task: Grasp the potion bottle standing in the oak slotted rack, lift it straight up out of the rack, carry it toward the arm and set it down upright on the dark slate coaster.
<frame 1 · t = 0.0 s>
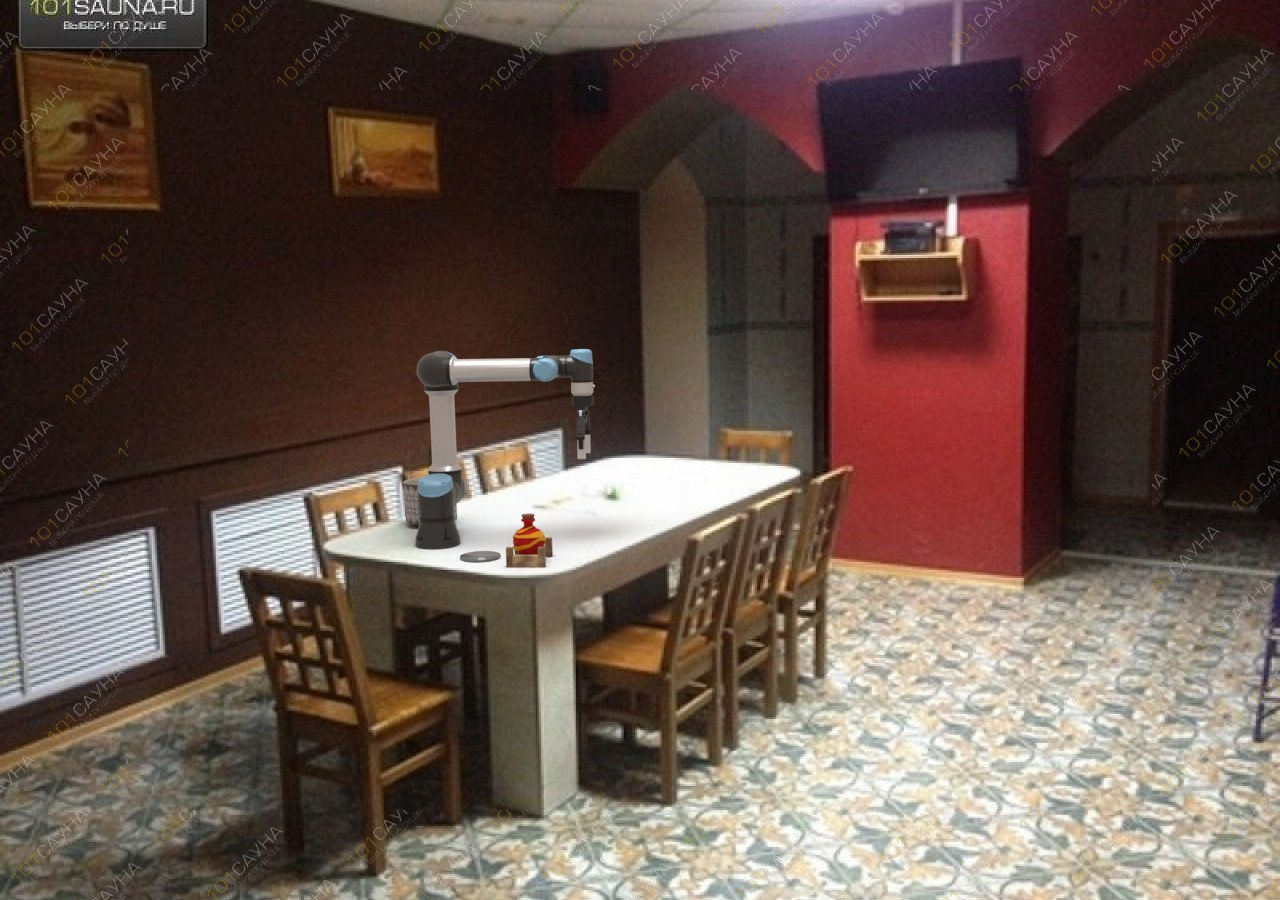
hand: (584, 456, 402), 28 cm above the table, fingers open, 13 cm apart
coaster: (480, 557, 376), on the table
potion bottle: (530, 561, 369), on the table
planter: (431, 525, 431), on the table
rack: (530, 561, 369), on the table
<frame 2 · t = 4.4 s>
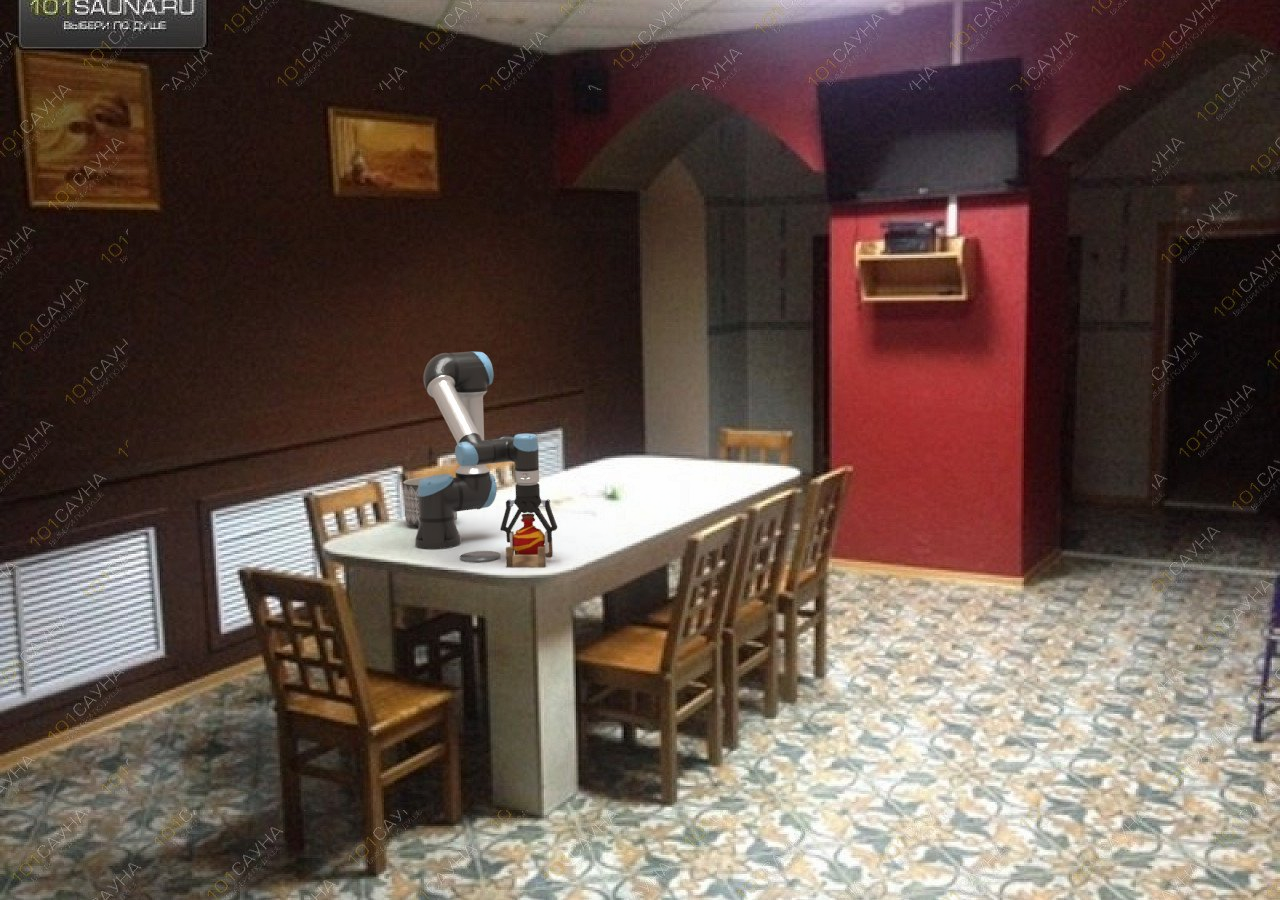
hand: (529, 552, 369), 3 cm above the table, fingers closed on potion bottle, 10 cm apart
potion bottle: (530, 561, 369), on the table, touching gripper
everything else where it was.
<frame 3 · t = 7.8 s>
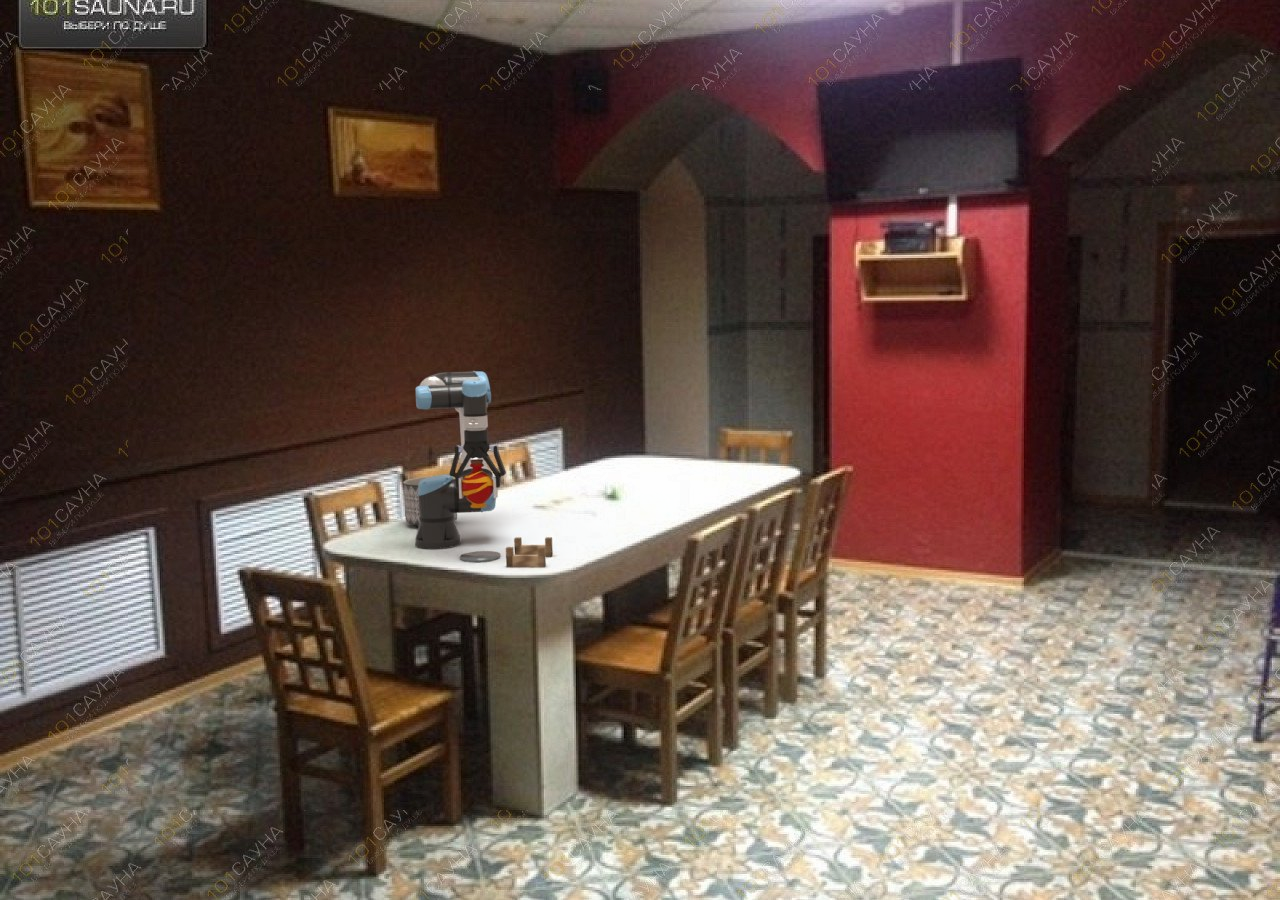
hand: (478, 497, 373), 20 cm above the table, fingers closed on potion bottle, 10 cm apart
potion bottle: (479, 507, 373), point 17 cm above the table, touching gripper
everything else where it was.
when the fingers open (5 cm above the table, at t = 11.5 s): potion bottle drops 1 cm, resting on coaster.
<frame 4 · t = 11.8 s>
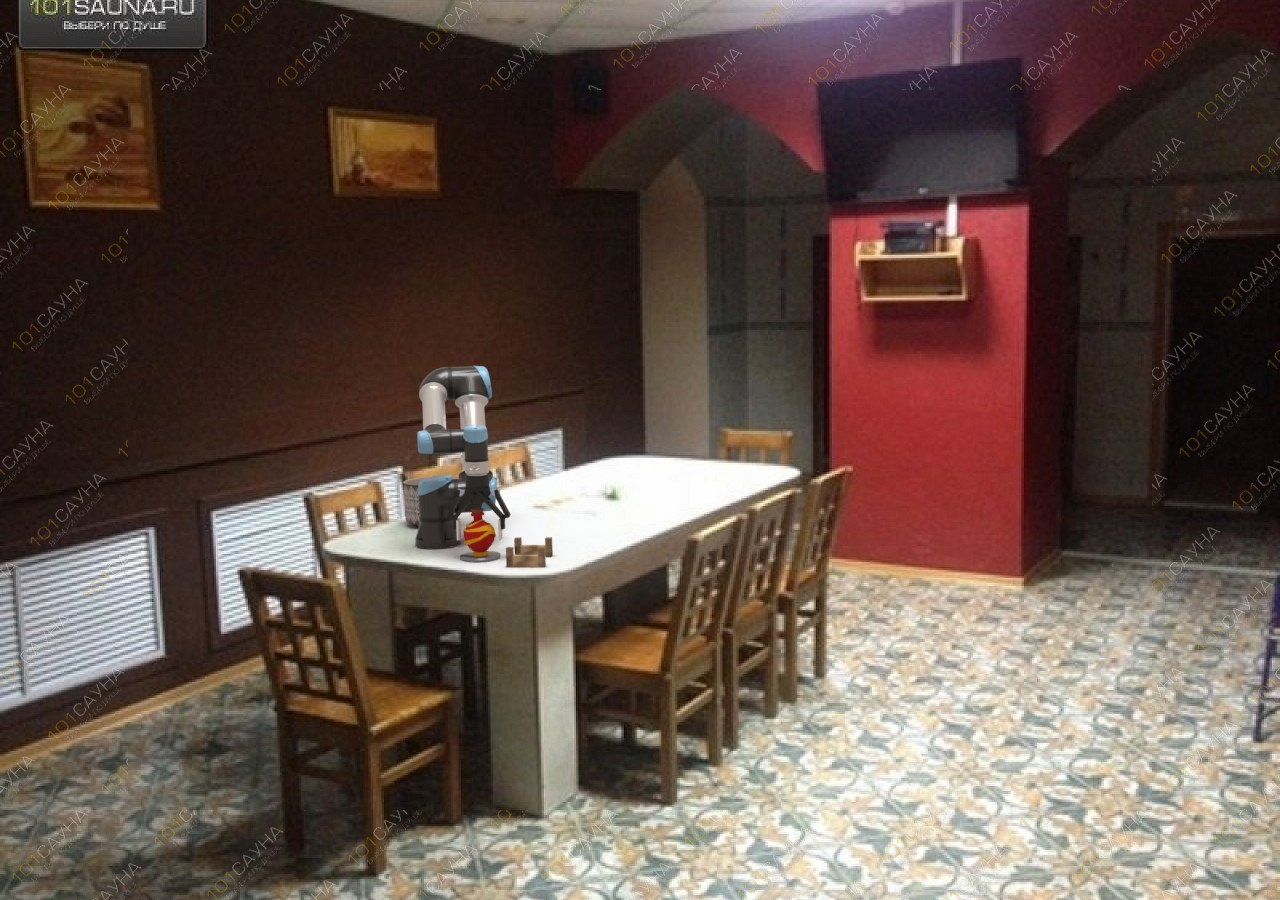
hand: (479, 539, 375), 6 cm above the table, fingers open, 13 cm apart
potion bottle: (481, 555, 375), point 1 cm above the table, touching coaster
everything else where it was.
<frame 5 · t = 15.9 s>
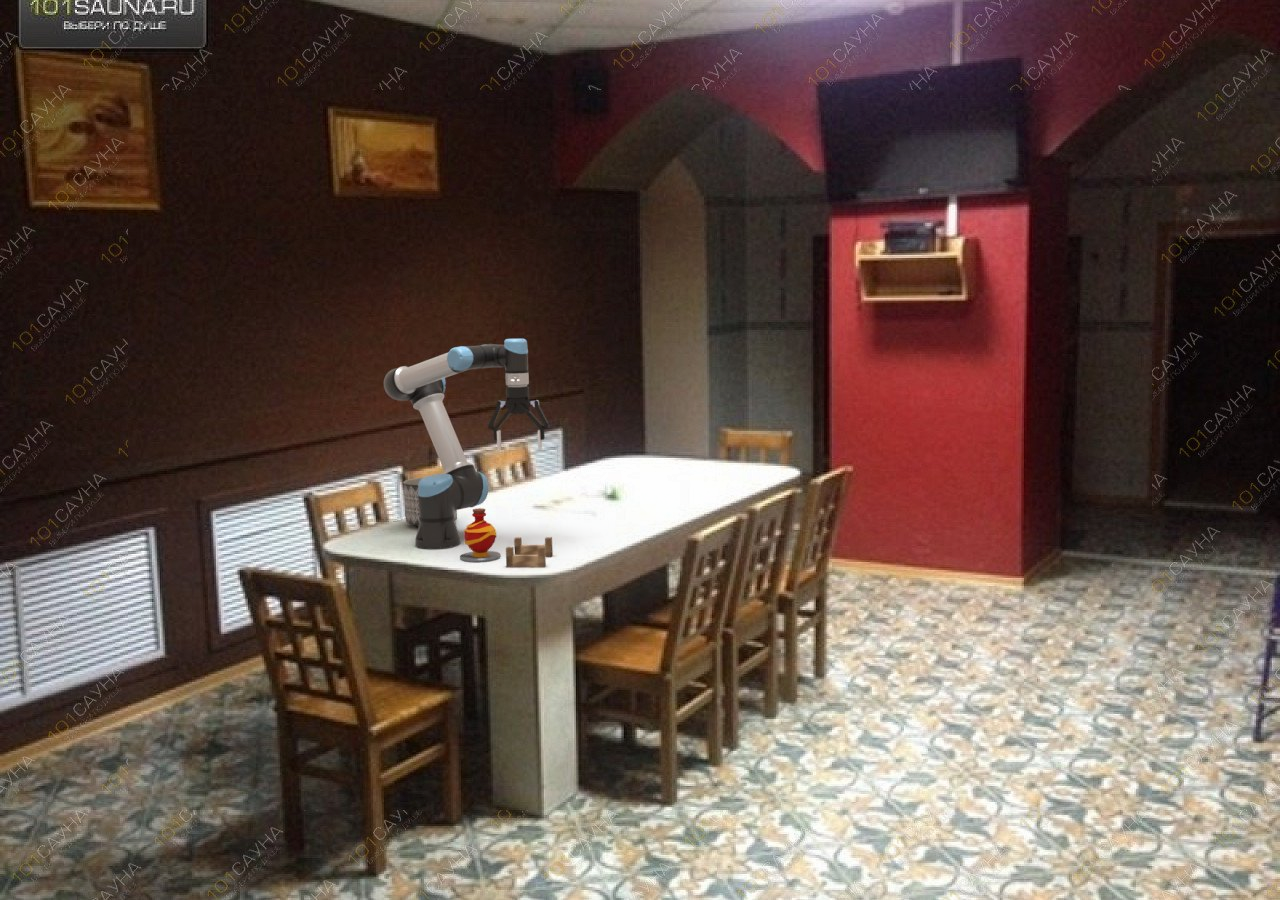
hand: (519, 450, 386), 33 cm above the table, fingers open, 13 cm apart
nothing on the table moved.
at the end: potion bottle inside the target area on the coaster (0.3 cm from its centre), point 0.6 cm above the coaster's base; potion bottle tilted 0°; the gripper is holding nothing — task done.
